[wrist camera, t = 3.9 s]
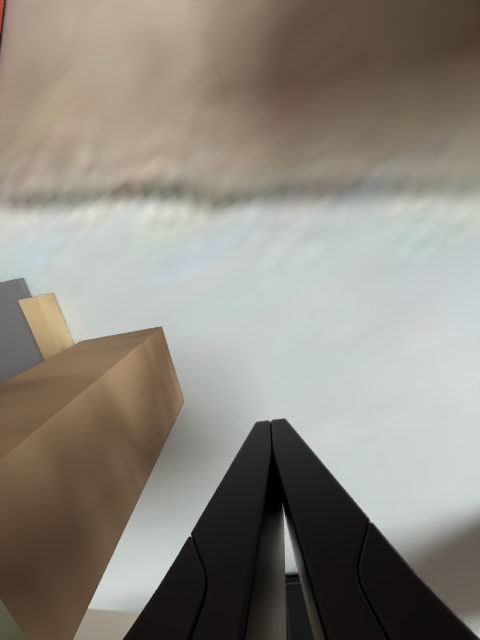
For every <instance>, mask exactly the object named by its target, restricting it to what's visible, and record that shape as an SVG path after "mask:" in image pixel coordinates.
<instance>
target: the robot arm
mask: <svg viewBox="0 0 480 640" xmlns="http://www.w3.org/2000/svg"><path fill="white" fill-rule="evenodd" d="M283 508H284V512H283ZM284 513H285V518H286V522H287V527H288V531H289V535H290V539H291V544H292V548H293V552H294V556H295V561H296V565H297V569H298V573H299V577H293V578H285V544H284ZM191 536H192V537H191ZM191 536H190V537H188V539H187V541H186V542H185V544H184V546H183V547H182V549H181V551H180V553H179V554H178V556H177V558H176V559H175V561H174V562H173V564H172V566H171V567H170V569H169V571H168V572H167V574H166V575H165V577H164V579H163V580H162V582H161V584H160V585H159V587H158V588H157V590H156V591H155V593H154V594H153V596H152V597H151V599H150V600H149V602H148V603H147V605H146V606H145V608H144V609H143V611H142V612H141V614H140V615H139V617H138V618H137V620H136V621H135V623H134V624H133V626H132V627H131V628H130V630H129V632H128V633H127V634H126V636H125V637H124V639H123V640H480V638H479V637H478V636H477V635H476V634H475V633H474V632H473V631H472V630H471V629H470V628H469V627H468V626H467V625H466V624H465V623H464V622H463V621H462V620H461V619H460V618H459V617H458V616H457V615H456V614H455V613H454V612H453V611H452V610H451V609H450V608H449V607H448V606H447V605H446V604H445V603H444V602H443V601H442V599H441V598H440V597H439V596H438V595H437V594H436V593H435V592H434V591H433V590H432V589H431V588H430V587H429V586H428V585H427V584H426V583H425V582H424V581H423V580H422V579H421V578H420V576H419V575H418V574H417V573H416V572H415V571H414V570H413V569H412V568H411V566H410V565H409V564H408V563H407V562H406V561H405V560H404V558H403V557H402V556H401V555H400V554H399V553H398V552H397V551H396V549H395V548H394V547H393V546H392V545H391V544H390V543H389V541H388V540H387V539H386V538H385V537H384V535H383V534H382V533H381V532H380V531H379V529H378V528H377V527H376V526H375V525H374V524H373V523H372V522H371V523H370V519H369V518H368V517H367V515H366V514H365V513H364V512H363V511H362V509H361V508H360V507H359V506H358V505H357V503H356V502H355V501H354V500H353V499H352V498H351V496H350V495H349V494H348V493H347V492H346V490H345V489H344V488H343V487H342V486H341V484H340V483H339V482H338V481H337V480H336V478H335V477H334V476H333V475H332V474H331V472H330V471H329V470H328V469H327V468H326V467H325V465H324V464H323V463H322V462H321V461H320V459H319V458H318V457H317V456H316V455H315V453H314V452H313V451H312V450H311V449H310V447H309V446H308V445H307V444H306V443H305V441H304V440H303V439H302V438H301V437H300V435H299V434H298V433H297V432H296V431H295V430H294V428H293V427H292V426H291V425H290V424H289V422H288V421H287V420H286V419H275V420H272V421H271V422H270V421H269V420H267V421H259V422H256V423H255V425H254V426H253V428H252V430H251V431H250V433H249V435H248V436H247V438H246V440H245V442H244V443H243V445H242V447H241V448H240V450H239V452H238V454H237V455H236V457H235V459H234V460H233V462H232V464H231V466H230V467H229V469H228V471H227V472H226V474H225V476H224V478H223V479H222V481H221V483H220V484H219V486H218V488H217V490H216V491H215V493H214V495H213V496H212V498H211V500H210V502H209V503H208V505H207V507H206V508H205V510H204V512H203V514H202V515H201V517H200V519H199V520H198V522H197V524H196V525H195V527H194V529H193V531H192V532H191Z"/></svg>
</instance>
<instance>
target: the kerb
mask: <svg viewBox="0 0 480 640" xmlns="http://www.w3.org/2000/svg"><path fill="white" fill-rule="evenodd" d="M18 301H19V304H20V306H21V308H22V310H23V313H24V315H25V317H26V319H27V322H28V324H29V326H30V328H31V331H32V333H33V335H34V337H35V340H36V342H37V344H38V346H39V349H40V351H41V353H42V355H43V358H44V360H45V361H46V360H47V359H49V358H51V357H53V356H55V355H57V354H59V353H61V352H63V351H64V350H66V349H68V348H70V347H72V346H74V343H73V340H72V338H71V335H70V333H69V330H68V328H67V325H66V323H65V320H64V318H63V315H62V313H61V310H60V308H59V305H58V303H57V300H56V298H55V295H54V293H50V294H45V295H41V296H36V297H31V298H27V299H22V300H18Z"/></svg>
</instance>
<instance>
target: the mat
mask: <svg viewBox="0 0 480 640" xmlns="http://www.w3.org/2000/svg"><path fill="white" fill-rule="evenodd" d="M27 298H31V295H30V292H29V290H28V288H27V285H26V283H25V281H24V278H20V279H15V280H10V281H6V282H1V283H0V384H2V383H4V382H6V381H8V380H10V379H12V378H14V377H15V376H17V375H19V374H21V373H23V372H25V371H27V370H29V369H31V368H32V367H34V366H36V365H38V364H40V363H42V362H44V361H45V360H44V358H43V355H42V353H41V351H40V349H39V346H38V344H37V342H36V340H35V337H34V335H33V333H32V331H31V328H30V326H29V324H28V322H27V319H26V317H25V315H24V313H23V310H22V308H21V306H20V304H19V301H18V300H22V299H27Z"/></svg>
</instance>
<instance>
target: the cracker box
mask: <svg viewBox="0 0 480 640" xmlns="http://www.w3.org/2000/svg"><path fill="white" fill-rule="evenodd" d="M4 1H5V0H0V33H1V23H2V16H3V9H4Z"/></svg>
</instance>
